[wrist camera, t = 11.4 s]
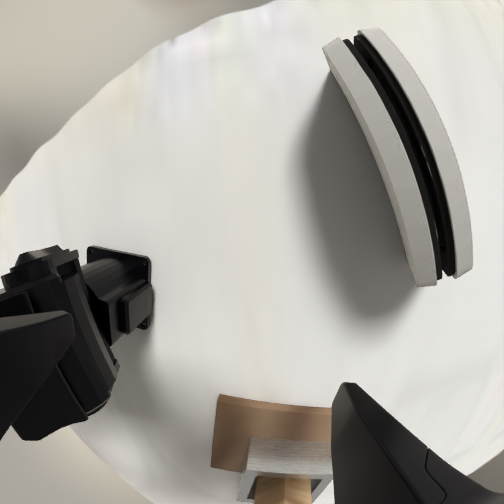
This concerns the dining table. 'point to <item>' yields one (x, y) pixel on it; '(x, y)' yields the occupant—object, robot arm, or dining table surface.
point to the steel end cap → (285, 464)
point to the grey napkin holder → (407, 153)
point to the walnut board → (262, 427)
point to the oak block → (282, 491)
